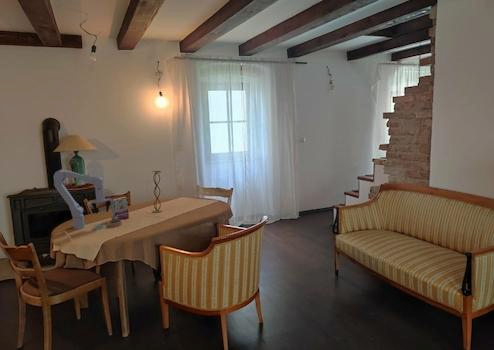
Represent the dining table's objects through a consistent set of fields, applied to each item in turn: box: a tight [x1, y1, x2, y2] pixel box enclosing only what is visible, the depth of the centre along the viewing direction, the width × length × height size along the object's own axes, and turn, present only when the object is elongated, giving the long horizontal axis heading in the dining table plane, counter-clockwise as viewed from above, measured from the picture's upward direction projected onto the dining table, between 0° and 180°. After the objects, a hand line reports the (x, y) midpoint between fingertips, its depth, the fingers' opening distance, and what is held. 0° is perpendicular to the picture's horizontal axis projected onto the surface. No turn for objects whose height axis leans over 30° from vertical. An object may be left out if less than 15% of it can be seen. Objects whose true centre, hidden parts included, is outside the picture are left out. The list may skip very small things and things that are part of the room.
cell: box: [110, 216, 118, 223], centre depth 266 cm, size 4×4×6 cm
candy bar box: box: [110, 196, 130, 220], centre depth 284 cm, size 11×5×16 cm, turn 137°
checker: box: [90, 224, 108, 232], centre depth 260 cm, size 10×10×2 cm
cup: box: [107, 219, 123, 228], centre depth 266 cm, size 10×10×4 cm
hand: (101, 212), depth 265 cm, fingers open, 7 cm apart
